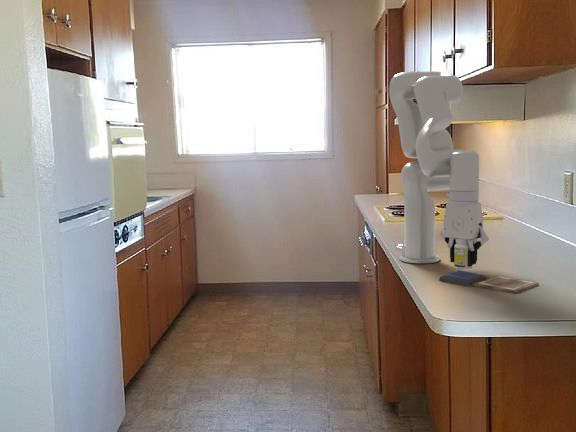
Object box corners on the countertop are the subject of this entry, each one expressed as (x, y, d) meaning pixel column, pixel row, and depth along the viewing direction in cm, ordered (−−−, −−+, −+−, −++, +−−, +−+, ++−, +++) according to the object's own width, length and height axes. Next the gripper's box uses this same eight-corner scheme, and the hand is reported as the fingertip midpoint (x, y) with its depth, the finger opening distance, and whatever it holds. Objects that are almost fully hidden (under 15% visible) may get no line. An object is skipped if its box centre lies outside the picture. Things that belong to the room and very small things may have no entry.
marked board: (473, 285, 162) (473, 283, 162) (496, 277, 170) (496, 275, 169) (515, 293, 153) (515, 291, 153) (538, 285, 161) (538, 282, 160)
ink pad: (439, 280, 168) (439, 275, 168) (458, 275, 174) (458, 269, 173) (468, 286, 161) (468, 280, 161) (486, 280, 167) (486, 274, 167)
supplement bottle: (469, 265, 169) (469, 235, 168) (474, 269, 165) (475, 238, 163) (451, 265, 169) (452, 236, 168) (457, 269, 164) (457, 239, 163)
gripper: (429, 196, 168) (429, 261, 171) (484, 200, 155) (483, 269, 158) (445, 194, 173) (444, 256, 175) (500, 197, 160) (498, 265, 163)
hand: (463, 262), depth 167 cm, fingers closed on supplement bottle, 4 cm apart
